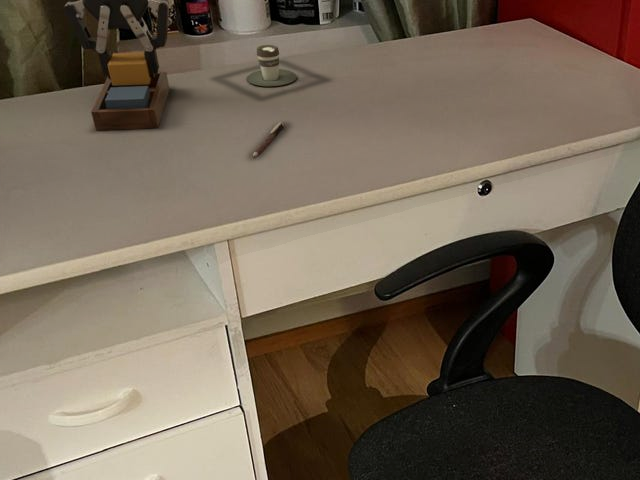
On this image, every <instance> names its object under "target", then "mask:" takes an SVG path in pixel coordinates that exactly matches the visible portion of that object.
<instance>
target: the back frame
mask: <svg viewBox="0 0 640 480" xmlns="http://www.w3.org/2000/svg"><path fill="white" fill-rule="evenodd" d="M134 86H148V88H149V92H150V97H151V104H150V107H149V108H133V109H109V110H107V106H106V102H105V99H106V97H107V95H108V93H109V90H110V88H111V87H134ZM169 91H170V83H169V78H168V73H167V71H158V73H157V74H156V75H155V78H151V80H150V83H149V84H147V85H121V86H113V85H112V82H111V79H109V78H108V76H107V77H106V80H105V82H104V84H103V86H102V88H101V91H100V93H99V94H98V97H97V99H96V101H95V102H94V105H93V108H92V110H91V112H90V114H91V117H92V120H93V125H94V128H95V131H118V130H137V129H138V130H139V129H140V130H141V129H159V126H160V122H161V119H162V116H163V112H164V109H165V106H166V102H167V98H168V95H169Z"/></svg>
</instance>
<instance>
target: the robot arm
mask: <svg viewBox="0 0 640 480" xmlns="http://www.w3.org/2000/svg"><path fill="white" fill-rule="evenodd" d="M147 8H150V9H151V12H152V15H153V16H154V17H155V18H157V23H156V25H157V26H156V35H155V36H152V34H151V32H150V30H149V28H148V25H147V24H146V21H145V20H144V18H143V16H144V14H145V12H146V11H147ZM85 9H86V10H87V11H88V13H90V14H91V16H92V17H94V18H95V19H96V20H97V21H98V25H97V33H96V38H95V37H93V36H92V34H91V31H90V30H89V27H88V26H87V23H86V22H85V19H84V17H85V14H86V13H85ZM63 12H64V14H65V17H66V18H67V21H68V22H69V24H70V26H71V28H72V30H73V32H74V34H75V36H76V38H77V40H78V42H79V44H80V46H81V47H82V49H84V50H92V51H95V52H96V53H97V55H98V59H99V64H100V68H101V71H102V73H103V75H104V76H107V77H108V78H109V79H111V77H110V73H109V69H108V63H109V61H110V60H111V58H112V55H113V53H112V50H111V48H109V39H110V33H111V30H112V31H113V30H118V29H123V30H131V31H132V32H133V34H134V36H135V37H136V38H137V39H138V41H139V42H140V44H141V46H142V47H143V49H144V52H143V53H144V56H145V60H146V62H147V67H148V72H149V76H150V78H155V75H156V74H157V73H158V72H159V70H160V64H159V59H158V54H157V49H159V48H163V47H165V46H166V44H167V41H168V31H169V19H170V18H169V17H170V1H169V0H76V1H73V0H68V2H66V4H65V5H64V6H63Z"/></svg>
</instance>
